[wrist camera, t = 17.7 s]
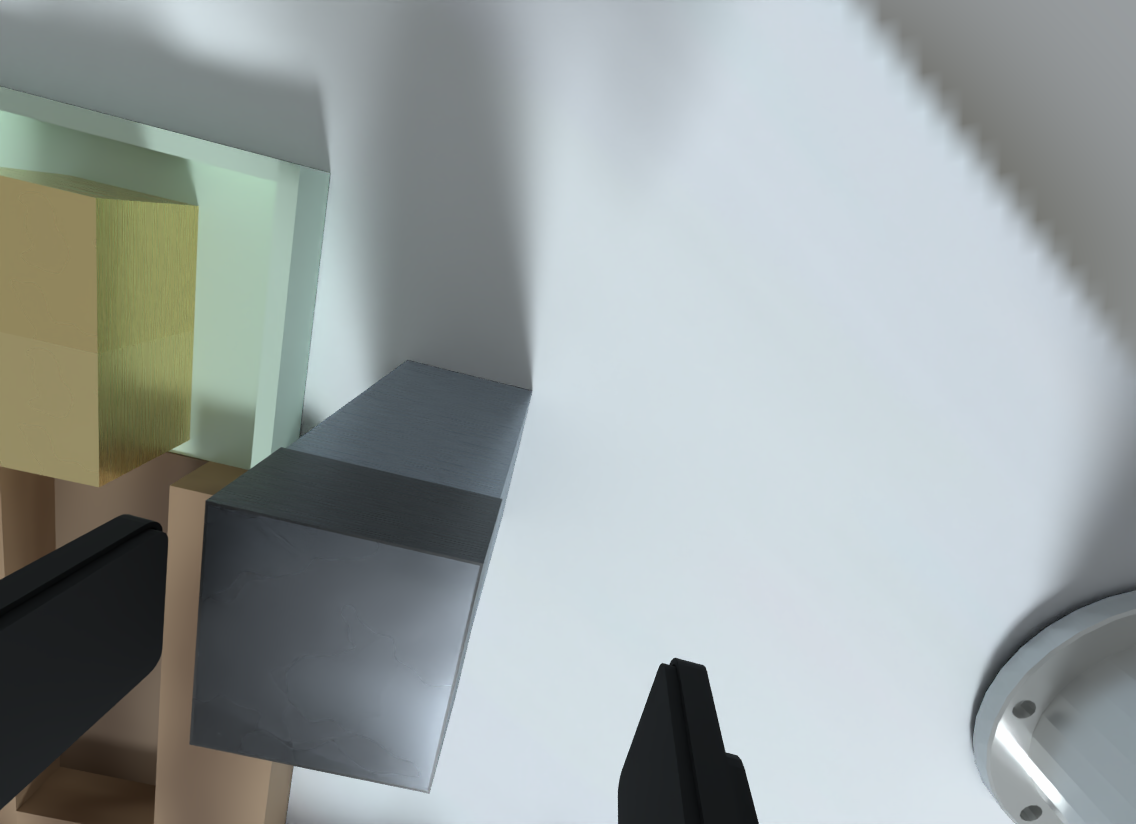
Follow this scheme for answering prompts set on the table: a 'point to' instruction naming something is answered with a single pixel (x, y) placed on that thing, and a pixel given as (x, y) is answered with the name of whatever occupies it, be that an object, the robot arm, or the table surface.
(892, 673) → the table surface
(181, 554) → the slot board
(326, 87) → the table surface
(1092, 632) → the robot arm
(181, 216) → the tan wooden cube
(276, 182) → the tray
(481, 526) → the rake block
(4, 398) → the olive yellow cube
